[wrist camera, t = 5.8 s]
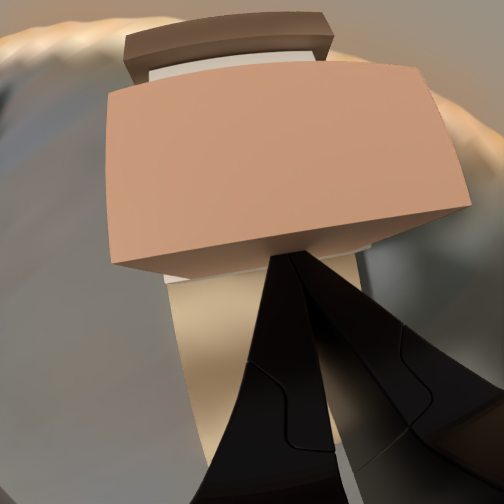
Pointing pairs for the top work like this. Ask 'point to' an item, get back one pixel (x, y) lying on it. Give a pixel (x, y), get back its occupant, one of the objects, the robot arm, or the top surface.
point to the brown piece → (271, 162)
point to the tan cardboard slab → (240, 285)
